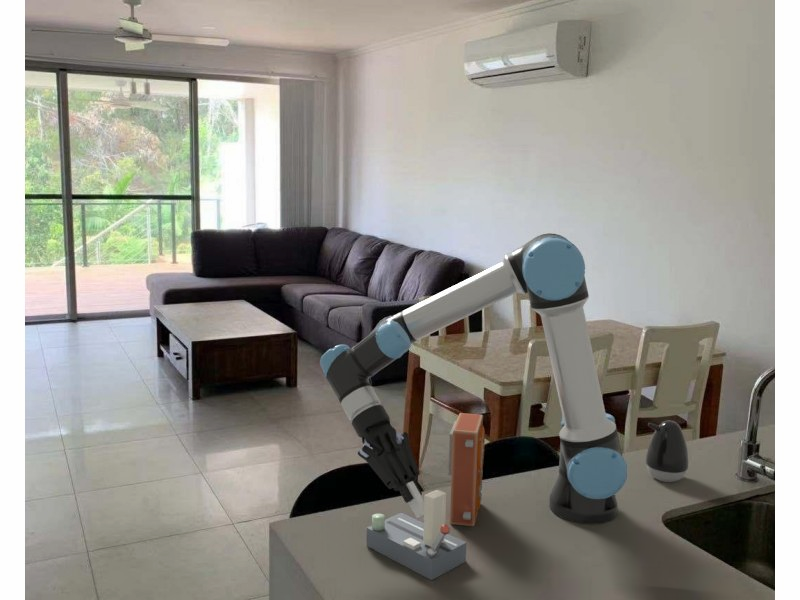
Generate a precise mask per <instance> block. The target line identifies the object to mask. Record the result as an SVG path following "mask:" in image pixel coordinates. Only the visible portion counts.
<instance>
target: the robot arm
mask: <svg viewBox="0 0 800 600" xmlns="http://www.w3.org/2000/svg"><path fill="white" fill-rule="evenodd" d="M585 274H586V264H585V260H584V256H583V254H582V253H581V250H580V249H579V248H578V247H577V246H576V245H575V244H574V243H573V242H572V241H570V240H569V239H568V238H566V237H565V236H563V235H560V234H557V233H551V232H550V233H542V234H540V235H537V236H535V237H534V238H532V239H531V240H529V241H528V242H526V243H525V244H523V245H522V246H520V247H518V248H516V249H515V250H513V251H511V252H509V253H507V254H505V255H504V258H503V260H502V261H501V262H499V263H497V264H495V265H493V266H491V267H489V268H487V269H485V270H483V271H481V272H479V273H476V274H475V275H472V276H471V277H469V278H466V279H464V280H463V281H460V282H458V283H457V284H455V285H452V286H451V287H448V288H446V289H444V290H442V291H440V292H438V293H436V294H434V295H432V296H430V297H429V298H426V299H424V300H422V301H420V302H417V303H416V304H414V305H411V306H410V307H408V308H406V309H404V310H402V311H400V312H398V313H396V314H393V315H389V316H386V317H384V318H383V319H381V320H379V322H378V323H377V324H376V325H375V327H374V329H373V330H372V331H370V333H369V334H368V335H367V336H365V337H364V338H363V339H361V341H359V342H358V343H356V345H354V346H353V347H349V345H347V344H338V345H335V346H334V347H332V348H329V349H328V350H327V351H325V352H324V353H323V354H322V356H321V357H320V360H319V366H320V367H321V370H322V371H323V375H324V377H325V380H326V381H327V382H328V384H329V385H330V387H331V389H332V391H333V393H334V395H335V396H336V398H337V400H338V401H339V403H340V406H341V407H342V410H343V411H344V412H345V414H346V416H347V418H348V420H349V421H351V426H352V427H353V429H354V431H355V433H356V434H357V436H358V437H359V438H361V442H362V447H361V448H360V449H359V450H358V452H357V455H358V457H360V458H361V459H363V460H364V461H366V462H367V464H368V465H369V467H371V469H372V470H373V471H374V472H375V474H376V475H377V476H378V477H379V479H380V480H381V481H382V483H383V484H384V485H385V486H386V487H387V488H388V489H389V490H392V489H393V491H395V492H398V491H399V493H400V495H401V497H402V499H403V500H404V502H405V503H407V504H408V506H410V509H411V510H412V512H413V514H414V516H415V519H418V518H420V517H422V516H424V497H423V496H422V495H423V493H422V491H421V489H420V487H419V485H418V484H417V482H416V479H417V478H418V476H419V475H420V471H419V468H418V464H417V462H416V459H415V456H414V452H413V451H412V448H411V445H410V442H409V434H408V433H407V432H406V431H404V432H403V433H400V432H398V431H397V429H395V427H393V425H392V424H391V418H390V415H389V414H388V412H387V410H386V409H385V407H384V405H382V404H381V402H382V401H381V400H380V398H379V396H378V395H377V393H376V391H375V389H374V388H373V386H372V384H371V383H370V380H369V379H370V378H372V377H374V376H375V375H376V374H378V372H380V371H382V370H383V369H384V368H385V367H387V366H388V365H389V366H390V364H392V363H393V362H394V361H396V360H397V359H400V358H401V357H402V356H403V355H404V354H405V353H407V352H408V351H409V350H410V349H411V346H412V344H414V343H416V342H417V341H419V340H421V339H423V338H425V337H428V336H429V335H431V334H433V333H436V332H437V331H440V330H442V329H444V328H446V327H448V326H450V325H453V324H454V323H457V322H458V321H461V320H463V319H465V318H467V317H469V316H471V315H473V314H475V313H478V312H480V311H482V310H484V309H486V308H488V307H491V306H492V305H494V304H496V303H499V302H500V301H503V300H505V299H507V298H509V297H511V296H513V295H515V294H517V293H518V294H523V295H526V294H528V299H529V304H530V308H531V310H532V311H534V312H536V313H537V314H538V315H540V318H541V323H542V328H543V332H544V337H545V342H546V346H547V350H548V356H549V361H550V363H551V364H550V365H551V369H552V373H553V379H554V383H555V388H556V392H557V396H558V401H559V405H560V409H561V415H562V416H561V417H562V418H561V422H560V427H561V428H560V431H559V433H558V435H559V439H560V445H559V463H558V465H559V466H558V475H557V478H556V480H555V482H554V485H553V488H552V490H551V493H550V494H549V495H550V496H549V505H548V506H549V510H551V512H552V513H553V514H554V515H556V516H558V517H560V518H561V519H564V520H566V521H570V522H574V523H578V524H579V523H580V524H589V525H595V524H597V525H598V524H605V523H608V522H611V521H613V520H614V519H615V518H616V517H617V516H618V515H617V514H618V501H617V497H616V494H617V493H619V491H621V490H622V488H623V487H624V486H625V484H626V481H627V478H628V465H627V461H626V460H625V458H624V457H623V453H622V448H621V444H620V439H619V438H620V437H619V434H618V430H617V424H616V419H615V417H614V416H613V415H611V414H610V413H607V412H606V409H605V404H604V400H603V396H602V391H601V390H602V389H601V385H600V381H599V376H598V372H597V366H596V362H595V358H594V352H593V347H592V342H591V337H590V334H589V329H588V324H587V320H586V319H587V318H586V315H585V309H584V307H585V306H584V305H585V304H586V303H587V301H588V299H589V296H590V295H589V291H588V287H587V282H586V277H585V276H586V275H585Z"/></svg>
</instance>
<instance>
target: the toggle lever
mask: <svg viewBox="0 0 800 600" xmlns="http://www.w3.org/2000/svg"><path fill="white" fill-rule="evenodd" d="M450 531H451V529H450V526H449V525H448V524H445V525H442V526H441V528H440V533H439V534H438V536H437V538H436V540H435V542H434V543H433V545H432V547H431V548H430V549H428V550H427V551H426V554H427V556H428V557H432V556H434V555H436V554H438V553H439V550H438V548H439V546H440V544H441V542H442V541H443V539H444V537H445V535H446V534H449V533H450Z"/></svg>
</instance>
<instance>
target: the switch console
mask: <svg viewBox="0 0 800 600" xmlns="http://www.w3.org/2000/svg"><path fill="white" fill-rule="evenodd" d="M423 532H424V521H421V520H418V519H417V518H414V517H413V516H409V515H408V514H405V513H403V512H399V513H397V514H395V515H392V516H390V517H389V518H385V528H384V529H383V530H379V531H377V530H374V529H372V525H370V526H367V527H366V547H367V548H369V549H371V548H372V550H373V549H374V551H375V552H377V553H379V554H381V555H383V556H385V557H387V558H389V559H391V560H393V561H395V562H396V563H398V564H401V566H404V567H406V568H408V569H410V570H411V571H414V572H415V573H417V574H419V575H421V576H423V577H424V578H427V579H429V580H431V581H432V580H435V579H437V578H438V577H441V576H442V575H444V574H446V573H447V572H450V571H452V570H453V569H455V568H456V567H458V566H461V565H462V564H463V563H465V562H467V542H466V541H465V540H462V539H460V538H457V537H455V536H453V535H451V534H449V533H448V534H446V535H445V541H444V542H442V543H441V544H440V546H439V548H438V550H439V553H438V554H436V555H434V556H432V557H428V556H427V554H426V551H427V550H428V549H430V548H431V547H430V546H428V545H426V544H424V543H423Z"/></svg>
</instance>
